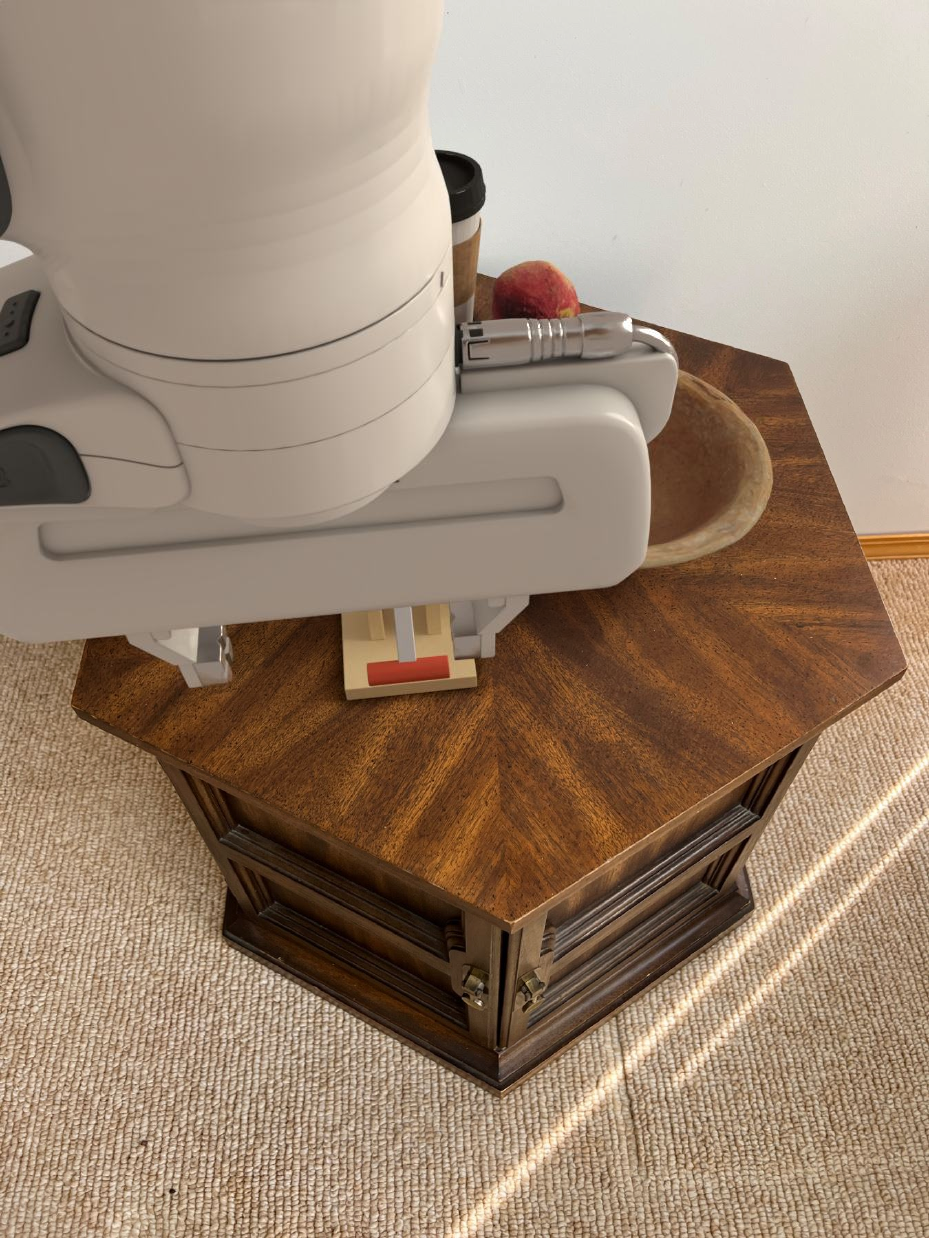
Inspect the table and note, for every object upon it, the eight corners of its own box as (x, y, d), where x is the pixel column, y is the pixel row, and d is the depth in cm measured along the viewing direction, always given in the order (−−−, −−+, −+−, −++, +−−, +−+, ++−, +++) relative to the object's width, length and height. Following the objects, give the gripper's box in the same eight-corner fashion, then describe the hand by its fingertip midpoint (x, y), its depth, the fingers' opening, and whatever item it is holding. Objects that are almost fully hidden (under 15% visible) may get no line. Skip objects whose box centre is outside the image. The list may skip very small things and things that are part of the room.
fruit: (585, 332, 88) (593, 255, 82) (560, 383, 84) (566, 306, 78) (507, 314, 90) (508, 238, 83) (478, 363, 86) (478, 286, 79)
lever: (449, 678, 59) (450, 677, 57) (370, 687, 59) (367, 685, 57) (430, 490, 60) (430, 481, 58) (352, 497, 60) (349, 488, 58)
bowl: (803, 595, 70) (836, 523, 63) (493, 665, 66) (494, 596, 60) (682, 391, 83) (698, 314, 77) (419, 440, 80) (414, 364, 73)
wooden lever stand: (476, 687, 65) (475, 559, 54) (346, 700, 65) (318, 574, 54) (458, 555, 72) (453, 418, 61) (341, 566, 72) (314, 430, 61)
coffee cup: (394, 298, 92) (380, 145, 80) (480, 291, 92) (479, 138, 80) (400, 353, 87) (386, 199, 75) (491, 345, 87) (492, 191, 75)
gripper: (662, 237, 26) (607, 563, 37) (-113, 298, 24) (74, 614, 36) (725, 391, 22) (643, 701, 33) (-185, 471, 21) (49, 763, 32)
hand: (343, 656), depth 34 cm, fingers open, 8 cm apart
